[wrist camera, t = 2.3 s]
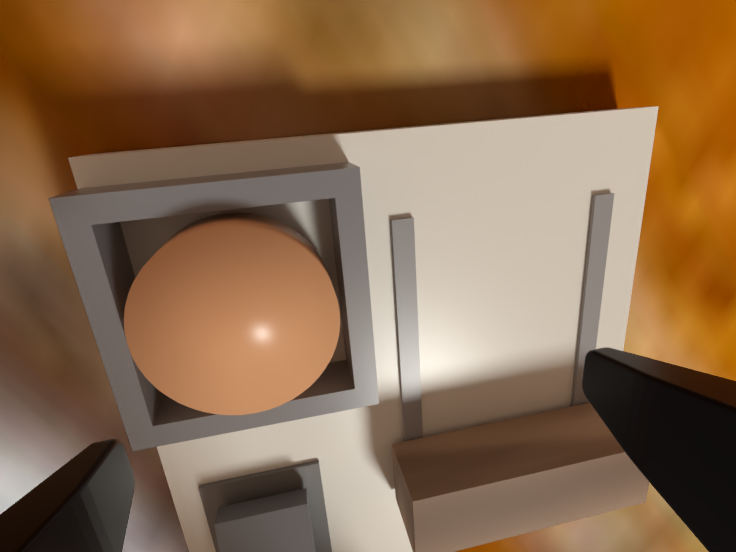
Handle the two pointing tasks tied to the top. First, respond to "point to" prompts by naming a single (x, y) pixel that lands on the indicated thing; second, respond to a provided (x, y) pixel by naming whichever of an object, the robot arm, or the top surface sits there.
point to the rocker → (266, 525)
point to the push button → (233, 315)
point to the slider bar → (511, 478)
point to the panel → (378, 294)
